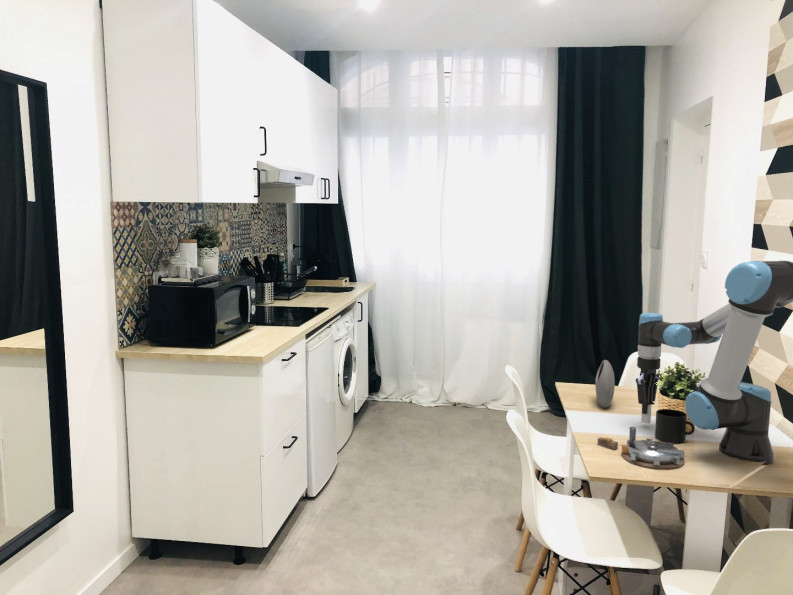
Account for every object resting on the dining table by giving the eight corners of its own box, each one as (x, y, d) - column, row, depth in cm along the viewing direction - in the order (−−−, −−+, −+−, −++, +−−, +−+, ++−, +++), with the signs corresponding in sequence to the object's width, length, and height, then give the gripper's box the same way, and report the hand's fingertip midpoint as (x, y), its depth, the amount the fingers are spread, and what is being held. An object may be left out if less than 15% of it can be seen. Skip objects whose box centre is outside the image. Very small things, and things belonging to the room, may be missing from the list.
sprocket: (678, 447, 199) (679, 422, 198) (689, 468, 182) (690, 441, 181) (619, 442, 204) (620, 418, 203) (624, 462, 187) (625, 436, 186)
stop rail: (617, 449, 201) (618, 440, 200) (614, 450, 200) (614, 442, 199) (600, 444, 205) (601, 435, 205) (597, 445, 204) (597, 437, 204)
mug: (691, 447, 203) (693, 420, 202) (652, 440, 209) (653, 414, 208) (695, 439, 211) (697, 412, 210) (657, 432, 217) (658, 407, 216)
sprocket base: (694, 459, 192) (694, 456, 192) (667, 474, 181) (667, 472, 181) (639, 444, 206) (639, 441, 206) (610, 457, 194) (610, 454, 194)
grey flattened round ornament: (593, 400, 257) (595, 355, 255) (611, 401, 255) (613, 356, 253) (595, 413, 239) (597, 365, 237) (615, 414, 237) (617, 366, 235)
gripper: (648, 352, 227) (644, 416, 230) (629, 357, 218) (626, 423, 221) (668, 356, 221) (664, 421, 224) (650, 361, 213) (646, 428, 215)
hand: (645, 422), depth 223 cm, fingers closed
